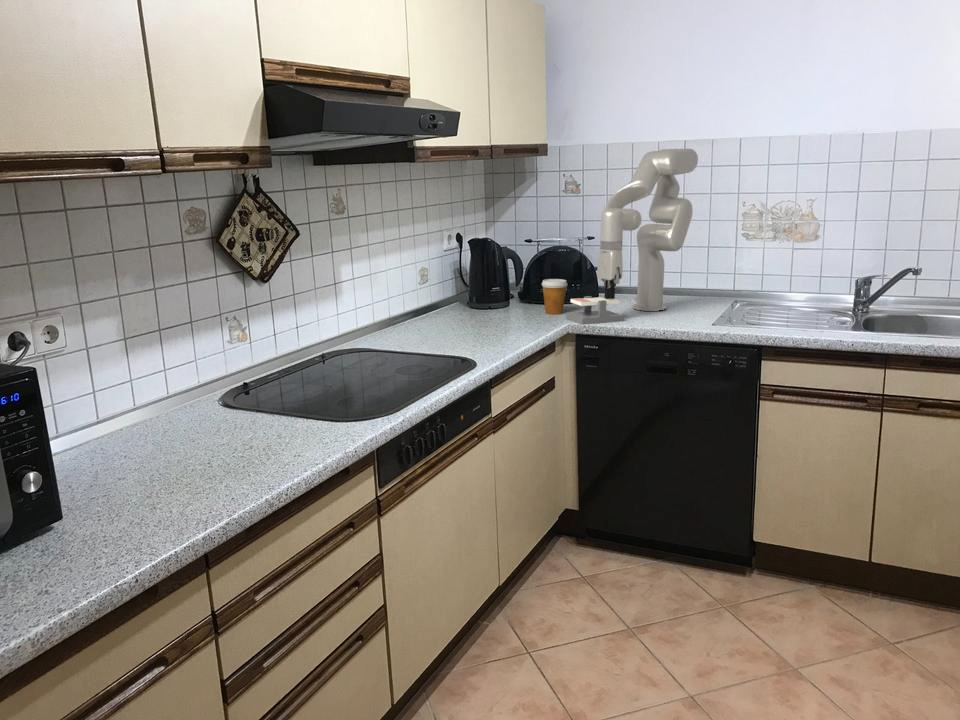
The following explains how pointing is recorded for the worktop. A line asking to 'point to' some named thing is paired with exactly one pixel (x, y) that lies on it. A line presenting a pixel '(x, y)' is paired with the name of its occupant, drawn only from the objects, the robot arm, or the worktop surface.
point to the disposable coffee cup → (554, 295)
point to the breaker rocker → (593, 301)
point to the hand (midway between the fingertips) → (609, 298)
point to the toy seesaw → (594, 314)
